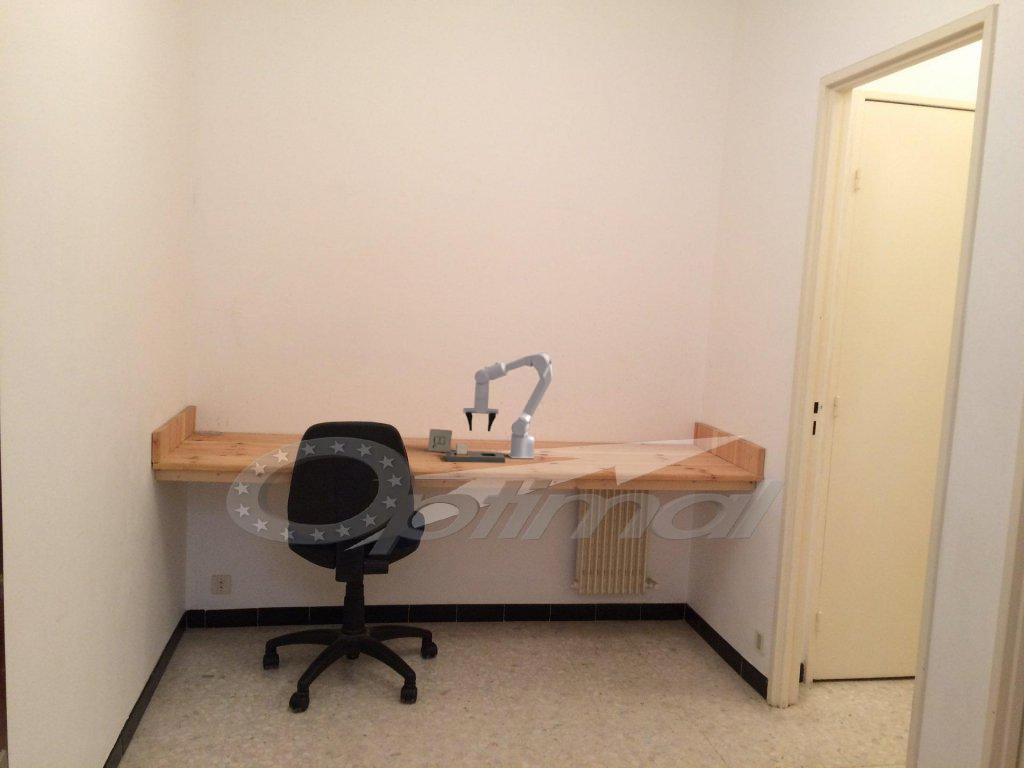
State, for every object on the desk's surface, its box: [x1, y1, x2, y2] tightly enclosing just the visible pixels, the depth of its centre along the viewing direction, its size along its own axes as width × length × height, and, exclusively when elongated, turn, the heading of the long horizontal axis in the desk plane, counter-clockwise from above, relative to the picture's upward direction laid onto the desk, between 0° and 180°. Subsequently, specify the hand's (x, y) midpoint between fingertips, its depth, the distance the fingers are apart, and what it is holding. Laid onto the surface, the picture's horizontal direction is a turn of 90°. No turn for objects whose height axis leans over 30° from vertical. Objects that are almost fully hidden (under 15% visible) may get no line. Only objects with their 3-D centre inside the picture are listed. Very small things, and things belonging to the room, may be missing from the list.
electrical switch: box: [427, 428, 453, 453], centre depth 328 cm, size 9×5×9 cm, turn 85°
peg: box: [455, 443, 468, 455], centre depth 314 cm, size 4×4×6 cm
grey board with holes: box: [444, 451, 506, 464], centre depth 315 cm, size 23×10×2 cm, turn 101°
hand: (479, 430), depth 328 cm, fingers open, 7 cm apart
